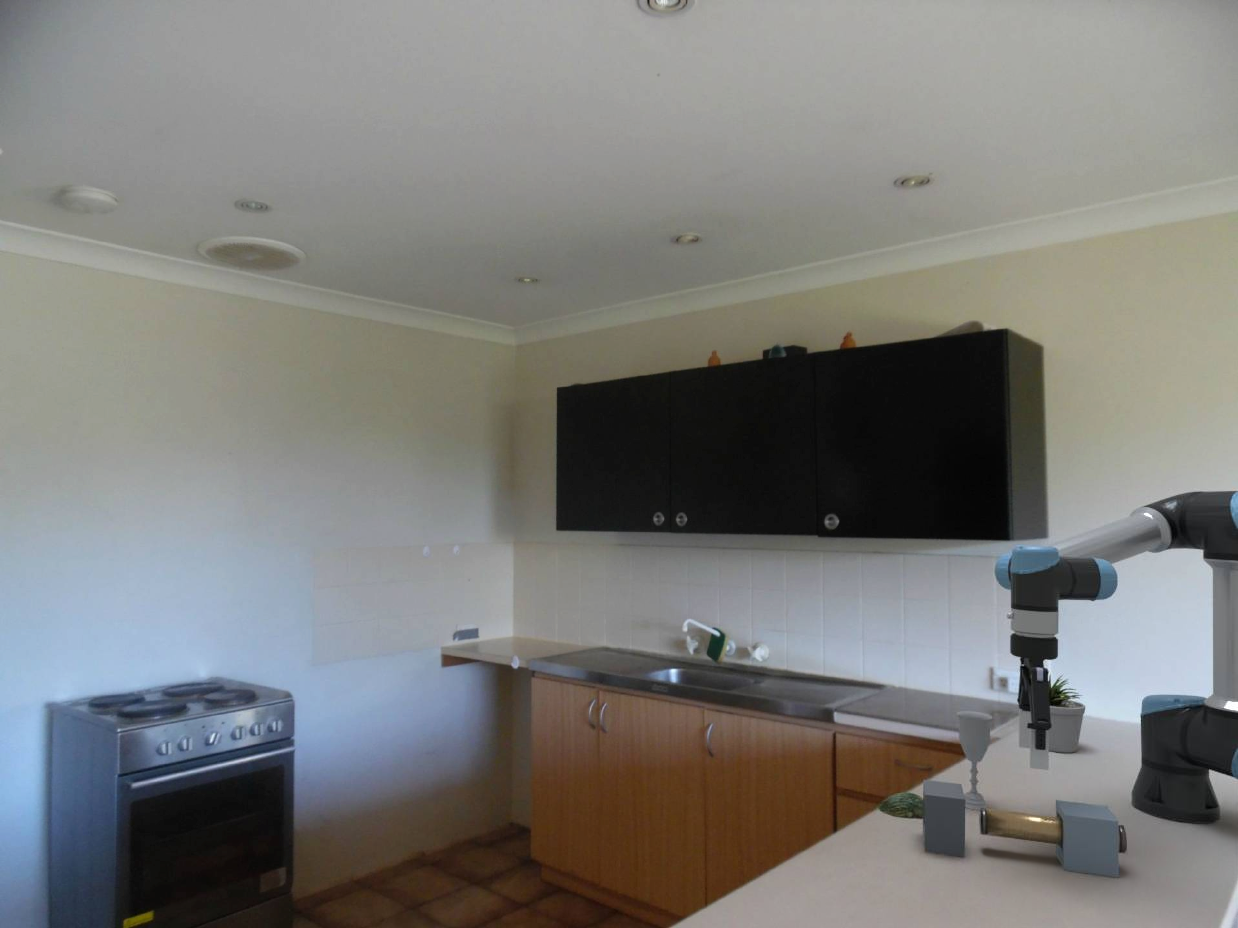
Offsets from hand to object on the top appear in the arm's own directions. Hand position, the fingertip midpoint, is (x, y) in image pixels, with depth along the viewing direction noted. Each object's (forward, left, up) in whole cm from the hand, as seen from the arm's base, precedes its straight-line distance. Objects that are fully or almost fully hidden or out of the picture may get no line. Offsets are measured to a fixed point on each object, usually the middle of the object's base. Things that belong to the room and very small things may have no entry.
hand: (1032, 757), depth 150 cm
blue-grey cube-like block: (-8, 0, -17) cm, 19 cm away
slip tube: (-3, 0, -14) cm, 14 cm away
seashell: (+21, -16, -17) cm, 31 cm away
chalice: (+7, -25, -17) cm, 31 cm away
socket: (+14, 0, -17) cm, 22 cm away
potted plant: (-17, -81, -17) cm, 84 cm away
